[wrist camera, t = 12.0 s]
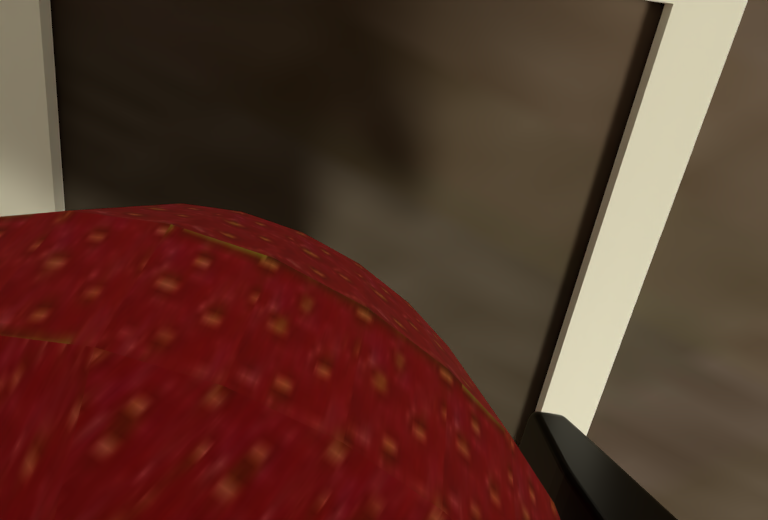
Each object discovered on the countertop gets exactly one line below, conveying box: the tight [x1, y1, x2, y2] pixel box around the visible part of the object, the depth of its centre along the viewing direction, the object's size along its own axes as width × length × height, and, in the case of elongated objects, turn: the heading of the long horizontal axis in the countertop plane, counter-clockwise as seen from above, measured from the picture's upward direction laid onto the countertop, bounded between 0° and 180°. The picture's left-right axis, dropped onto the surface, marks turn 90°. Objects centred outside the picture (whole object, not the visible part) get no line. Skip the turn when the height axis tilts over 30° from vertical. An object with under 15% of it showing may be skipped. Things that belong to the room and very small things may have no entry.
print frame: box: [0, 0, 748, 436], centre depth 11 cm, size 13×11×1 cm
